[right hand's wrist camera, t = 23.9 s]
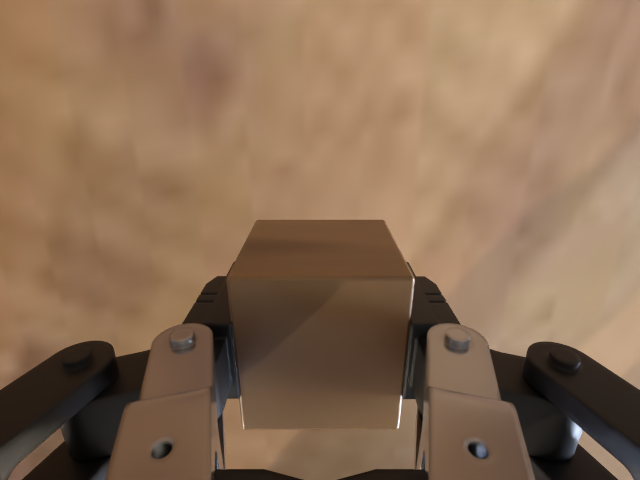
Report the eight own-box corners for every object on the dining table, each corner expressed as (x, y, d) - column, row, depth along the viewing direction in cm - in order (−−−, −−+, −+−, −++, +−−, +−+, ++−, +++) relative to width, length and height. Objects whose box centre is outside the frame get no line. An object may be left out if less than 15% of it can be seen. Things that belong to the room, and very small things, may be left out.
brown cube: (377, 336, 13) (399, 431, 9) (263, 336, 13) (241, 431, 9) (385, 219, 12) (416, 277, 8) (255, 219, 12) (225, 277, 8)
